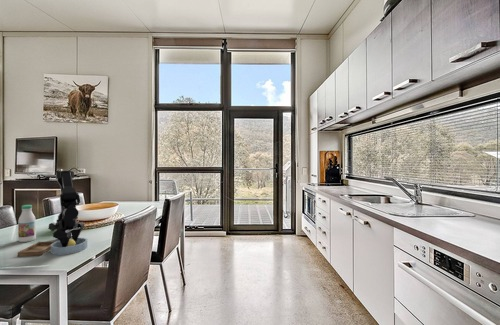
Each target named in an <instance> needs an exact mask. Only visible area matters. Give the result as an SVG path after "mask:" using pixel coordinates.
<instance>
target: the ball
mask: <svg viewBox="0 0 500 325" xmlns="http://www.w3.org/2000/svg"><path fill="white" fill-rule="evenodd" d="M75 244H76V243H75V241H74V240H73V239H69V242H68V245H67V247H68V246H74V245H75Z"/></svg>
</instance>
